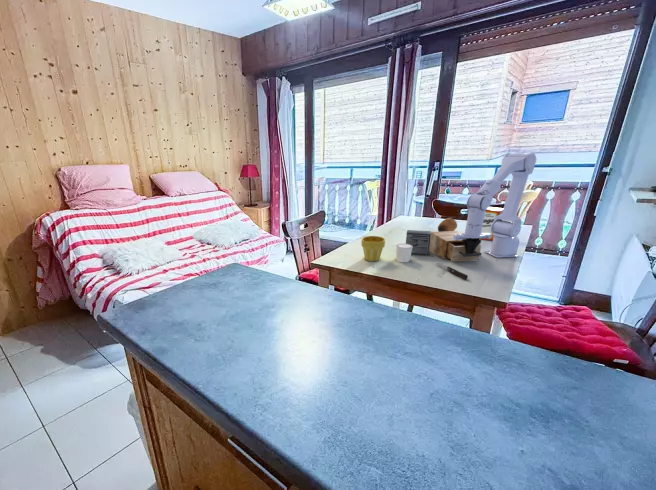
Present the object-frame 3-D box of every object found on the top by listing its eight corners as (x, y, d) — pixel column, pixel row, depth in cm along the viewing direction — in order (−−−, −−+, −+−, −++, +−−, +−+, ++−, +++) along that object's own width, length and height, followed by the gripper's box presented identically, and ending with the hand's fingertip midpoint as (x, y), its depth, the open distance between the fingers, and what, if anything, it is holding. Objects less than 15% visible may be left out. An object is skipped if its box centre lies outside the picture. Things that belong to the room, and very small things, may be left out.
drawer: (484, 264, 137) (487, 248, 134) (457, 265, 137) (460, 250, 135) (461, 250, 154) (463, 236, 151) (437, 251, 154) (438, 238, 151)
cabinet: (471, 257, 147) (474, 239, 144) (443, 259, 147) (445, 240, 144) (453, 247, 161) (456, 230, 158) (428, 249, 161) (430, 232, 158)
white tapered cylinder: (408, 263, 144) (410, 248, 142) (393, 261, 148) (394, 246, 146) (413, 259, 149) (414, 244, 147) (397, 256, 153) (399, 242, 151)
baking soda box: (497, 238, 170) (503, 207, 164) (493, 241, 166) (500, 210, 160) (476, 235, 177) (482, 205, 171) (473, 238, 173) (478, 208, 166)
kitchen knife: (467, 280, 126) (468, 275, 125) (465, 280, 125) (466, 275, 125) (436, 264, 142) (436, 260, 141) (434, 264, 142) (434, 260, 141)
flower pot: (371, 264, 146) (372, 243, 142) (356, 258, 155) (356, 238, 151) (388, 259, 150) (390, 239, 147) (372, 253, 159) (373, 234, 155)
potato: (443, 241, 180) (431, 231, 182) (454, 230, 187) (442, 221, 189) (452, 232, 174) (439, 222, 176) (462, 221, 180) (450, 212, 183)
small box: (428, 251, 157) (431, 230, 154) (428, 255, 152) (431, 234, 148) (405, 249, 162) (407, 229, 158) (404, 253, 156) (406, 232, 152)
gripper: (486, 221, 137) (479, 251, 142) (451, 222, 137) (446, 253, 142) (497, 225, 130) (490, 256, 135) (460, 226, 130) (455, 258, 135)
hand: (468, 255), depth 138 cm, fingers closed, pressing on drawer
